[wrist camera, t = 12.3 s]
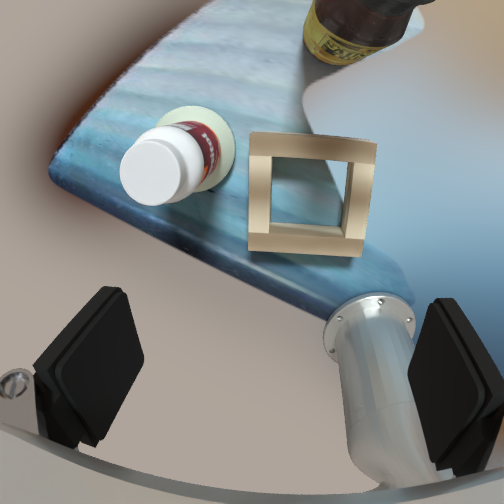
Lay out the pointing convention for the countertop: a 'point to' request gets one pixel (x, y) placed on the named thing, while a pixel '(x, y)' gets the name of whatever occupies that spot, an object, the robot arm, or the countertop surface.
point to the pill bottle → (169, 162)
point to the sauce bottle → (355, 27)
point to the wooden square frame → (304, 235)
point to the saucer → (222, 132)
